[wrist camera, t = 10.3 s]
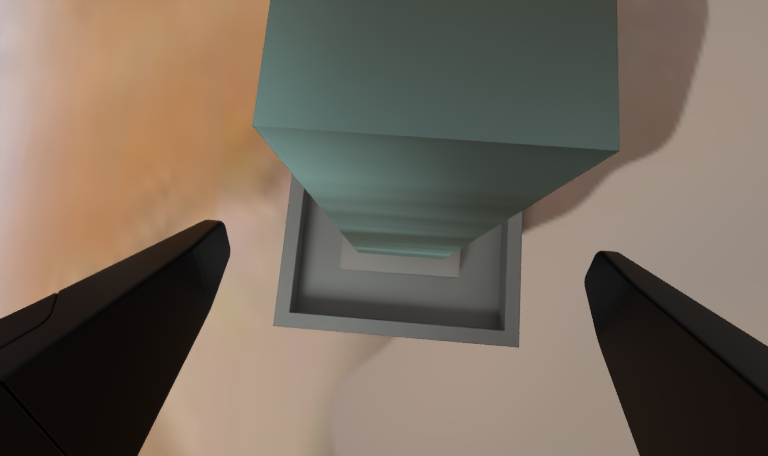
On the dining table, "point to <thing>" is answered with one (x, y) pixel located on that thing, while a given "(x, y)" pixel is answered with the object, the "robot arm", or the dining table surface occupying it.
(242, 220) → the dining table surface
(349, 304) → the tray
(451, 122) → the teal green tall block
